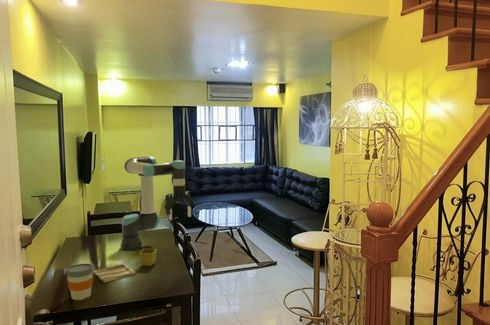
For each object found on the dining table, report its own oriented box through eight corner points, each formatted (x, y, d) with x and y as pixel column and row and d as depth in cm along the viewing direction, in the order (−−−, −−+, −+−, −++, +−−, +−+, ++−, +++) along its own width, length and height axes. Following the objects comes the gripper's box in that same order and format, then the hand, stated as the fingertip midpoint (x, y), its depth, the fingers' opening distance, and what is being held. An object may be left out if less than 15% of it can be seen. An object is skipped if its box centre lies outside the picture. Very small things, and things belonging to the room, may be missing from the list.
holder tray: (93, 273, 227) (93, 270, 227) (123, 266, 238) (123, 263, 238) (104, 282, 213) (104, 279, 213) (135, 274, 224) (135, 271, 224)
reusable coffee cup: (76, 290, 202) (74, 263, 201) (98, 291, 201) (97, 263, 200) (62, 301, 190) (60, 271, 189) (86, 302, 189) (85, 272, 187)
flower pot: (157, 262, 244) (157, 248, 243) (153, 267, 235) (152, 253, 234) (144, 262, 244) (143, 248, 244) (139, 267, 236) (138, 252, 235)
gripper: (163, 187, 231) (164, 222, 233) (199, 183, 247) (200, 216, 248) (158, 186, 237) (159, 220, 239) (193, 182, 252) (194, 214, 254)
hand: (180, 218), depth 244 cm, fingers open, 13 cm apart
